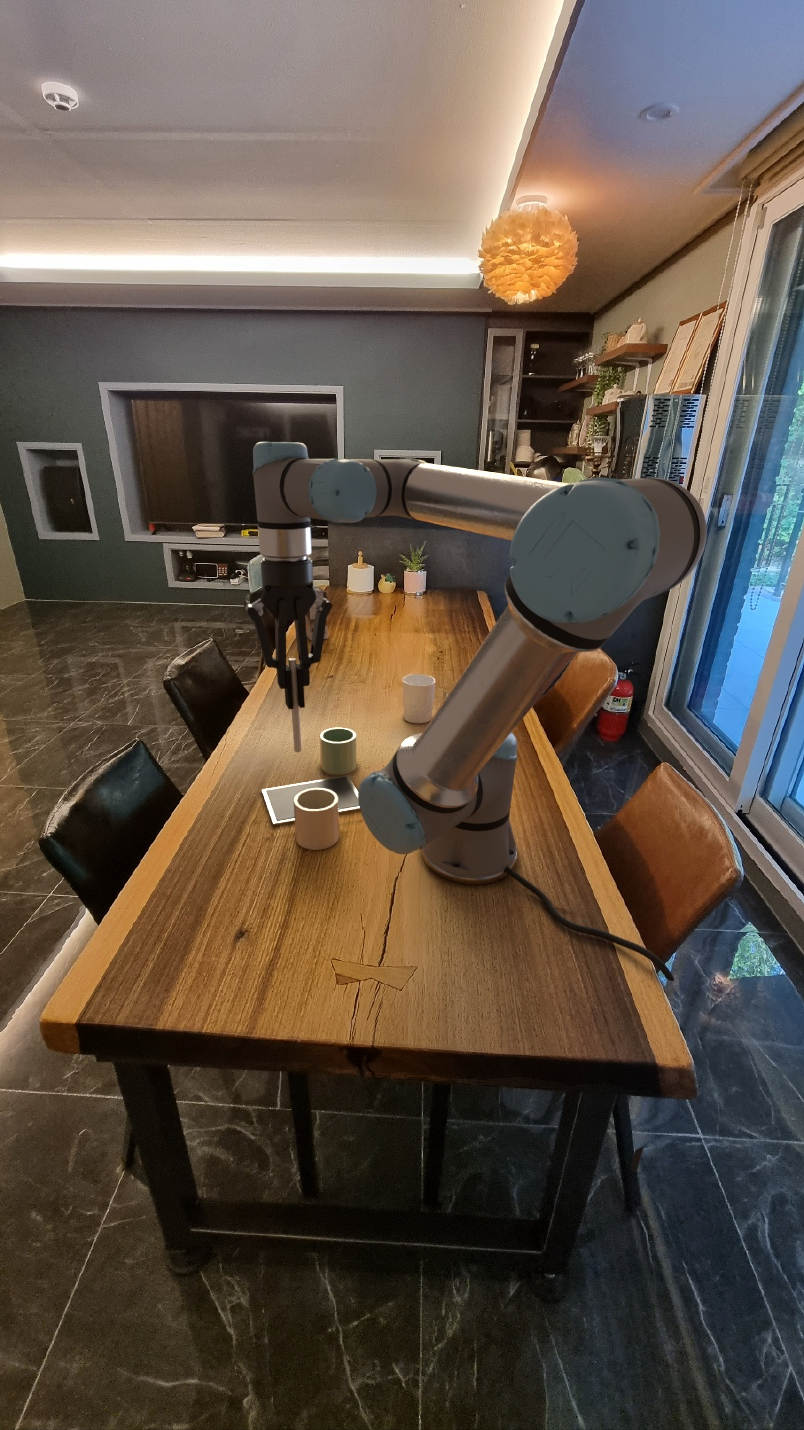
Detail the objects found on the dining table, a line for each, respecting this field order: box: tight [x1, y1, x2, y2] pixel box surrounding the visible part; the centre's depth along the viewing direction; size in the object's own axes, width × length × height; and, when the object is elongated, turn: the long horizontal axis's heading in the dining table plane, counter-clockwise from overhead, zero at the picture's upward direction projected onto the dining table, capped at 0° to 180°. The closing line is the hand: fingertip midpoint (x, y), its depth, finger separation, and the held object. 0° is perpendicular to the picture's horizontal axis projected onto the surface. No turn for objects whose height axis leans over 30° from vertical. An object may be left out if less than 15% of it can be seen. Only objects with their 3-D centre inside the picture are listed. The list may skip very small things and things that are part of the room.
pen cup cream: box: [294, 788, 340, 851], centre depth 102 cm, size 7×7×8 cm
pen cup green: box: [319, 727, 358, 776], centre depth 124 cm, size 7×7×8 cm
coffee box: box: [305, 586, 329, 641], centre depth 207 cm, size 9×6×16 cm
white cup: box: [401, 673, 436, 724], centre depth 147 cm, size 8×8×10 cm
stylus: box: [288, 657, 303, 753], centre depth 99 cm, size 1×1×16 cm
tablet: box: [261, 775, 361, 827], centre depth 113 cm, size 12×17×1 cm
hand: (295, 705), depth 99 cm, fingers closed on stylus
